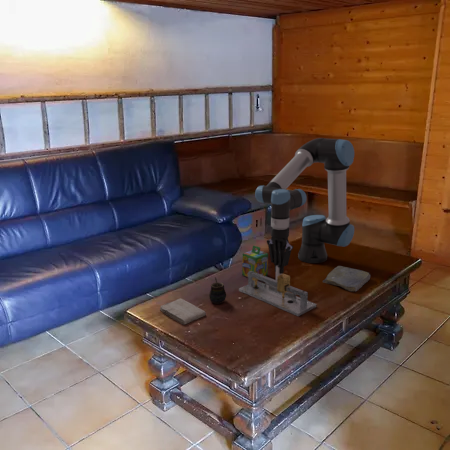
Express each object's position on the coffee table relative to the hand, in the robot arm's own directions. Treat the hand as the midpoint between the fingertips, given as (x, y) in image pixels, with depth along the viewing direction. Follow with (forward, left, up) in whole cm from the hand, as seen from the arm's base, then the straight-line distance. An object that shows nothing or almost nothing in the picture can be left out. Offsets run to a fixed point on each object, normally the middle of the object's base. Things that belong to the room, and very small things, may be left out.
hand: (279, 279), depth 201 cm
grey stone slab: (-37, +9, -10) cm, 40 cm away
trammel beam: (0, -1, -10) cm, 10 cm away
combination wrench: (-4, -2, -10) cm, 11 cm away
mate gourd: (+20, -17, -10) cm, 28 cm away
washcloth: (+37, -20, -10) cm, 43 cm away
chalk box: (-12, -25, -10) cm, 30 cm away
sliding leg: (0, +3, -8) cm, 8 cm away
